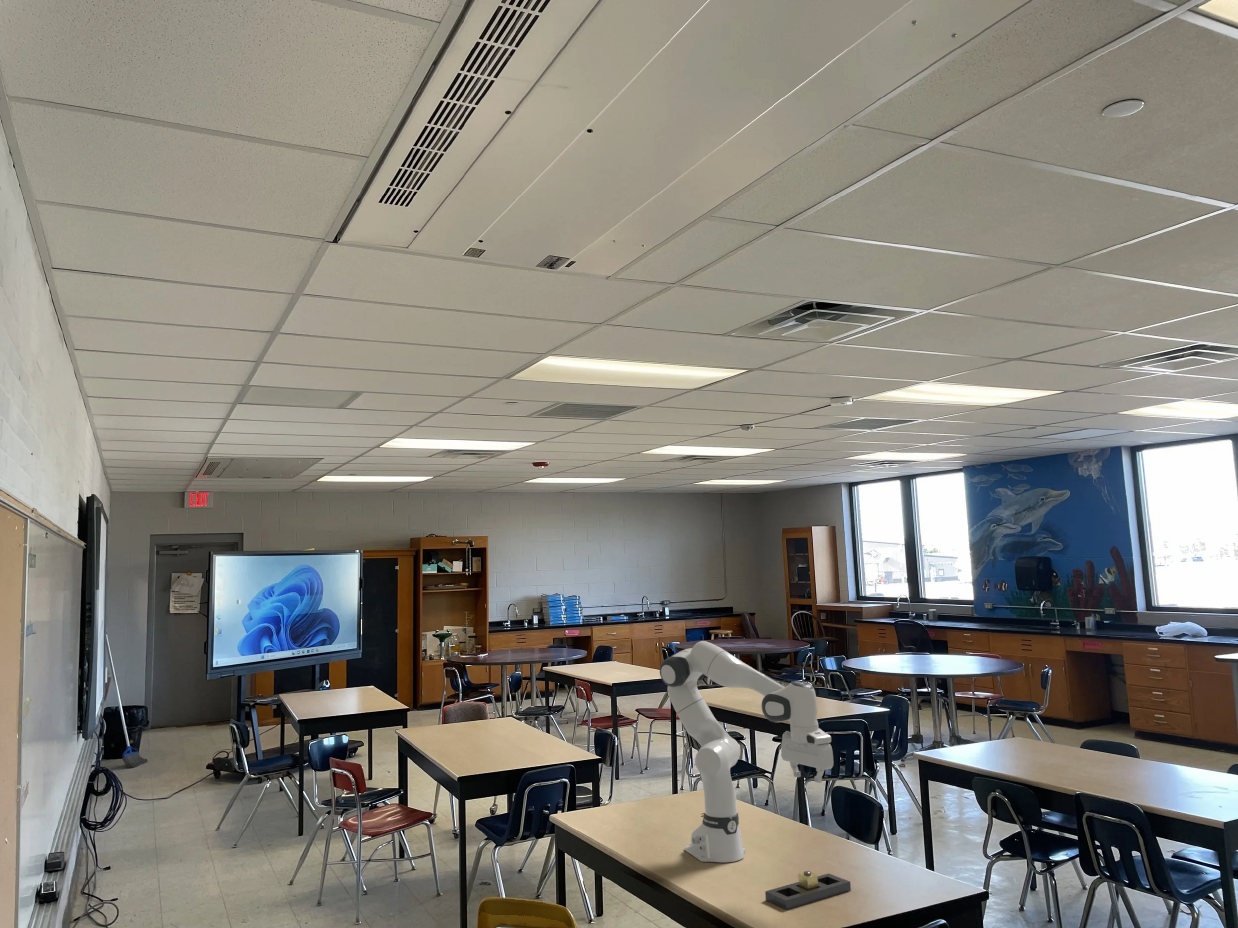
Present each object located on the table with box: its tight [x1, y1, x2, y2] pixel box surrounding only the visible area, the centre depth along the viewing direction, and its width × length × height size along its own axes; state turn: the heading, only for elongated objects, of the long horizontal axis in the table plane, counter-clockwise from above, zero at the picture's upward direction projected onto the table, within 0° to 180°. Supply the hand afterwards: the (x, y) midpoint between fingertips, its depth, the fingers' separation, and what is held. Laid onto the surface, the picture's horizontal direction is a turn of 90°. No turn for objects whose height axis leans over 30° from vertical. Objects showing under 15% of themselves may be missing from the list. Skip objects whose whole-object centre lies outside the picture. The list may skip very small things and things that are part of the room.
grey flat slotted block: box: [764, 873, 852, 911], centre depth 248 cm, size 9×26×2 cm, turn 121°
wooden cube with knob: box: [797, 870, 818, 891], centre depth 248 cm, size 4×4×6 cm
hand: (807, 779), depth 261 cm, fingers open, 8 cm apart
